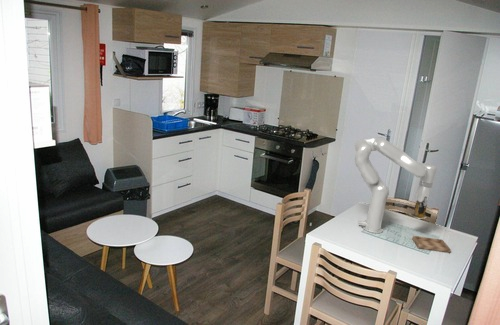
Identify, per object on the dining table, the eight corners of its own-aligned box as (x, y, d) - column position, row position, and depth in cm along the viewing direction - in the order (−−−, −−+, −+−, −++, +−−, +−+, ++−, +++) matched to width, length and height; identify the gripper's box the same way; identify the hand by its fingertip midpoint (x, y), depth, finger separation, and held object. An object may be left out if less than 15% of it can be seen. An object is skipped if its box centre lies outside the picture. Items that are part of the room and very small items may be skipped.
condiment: (426, 217, 249) (431, 200, 246) (418, 219, 244) (423, 201, 241) (416, 213, 255) (420, 196, 252) (408, 214, 250) (413, 197, 247)
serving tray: (418, 248, 233) (419, 244, 232) (412, 239, 245) (412, 235, 244) (449, 252, 231) (450, 249, 231) (441, 243, 244) (442, 239, 243)
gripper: (415, 179, 253) (408, 205, 258) (424, 187, 236) (417, 215, 241) (427, 181, 253) (420, 207, 257) (436, 189, 236) (429, 216, 240)
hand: (418, 210), depth 249 cm, fingers closed on condiment, 6 cm apart
